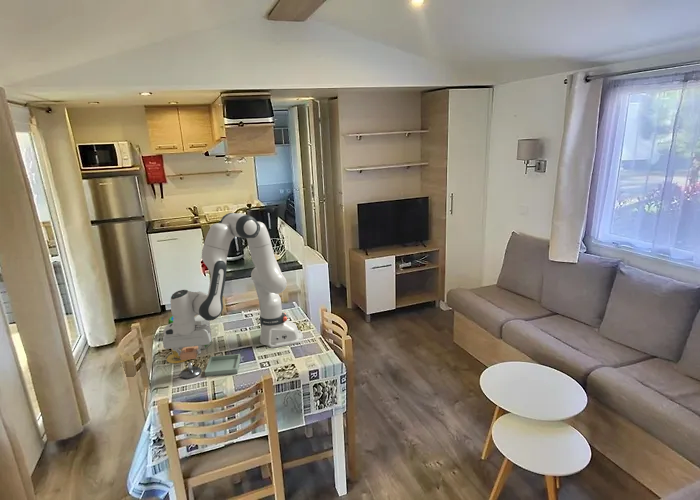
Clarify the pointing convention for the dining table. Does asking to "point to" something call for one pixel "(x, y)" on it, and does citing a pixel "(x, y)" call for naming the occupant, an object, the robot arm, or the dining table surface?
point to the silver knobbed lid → (190, 372)
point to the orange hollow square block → (188, 353)
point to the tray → (223, 365)
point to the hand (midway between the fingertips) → (189, 354)
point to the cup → (175, 354)
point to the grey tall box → (202, 321)
